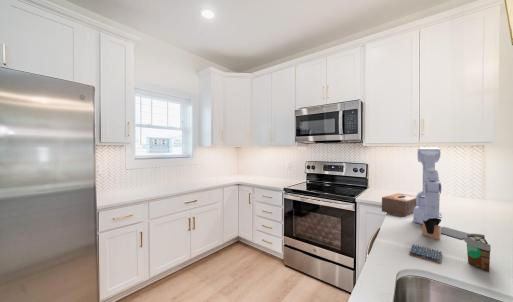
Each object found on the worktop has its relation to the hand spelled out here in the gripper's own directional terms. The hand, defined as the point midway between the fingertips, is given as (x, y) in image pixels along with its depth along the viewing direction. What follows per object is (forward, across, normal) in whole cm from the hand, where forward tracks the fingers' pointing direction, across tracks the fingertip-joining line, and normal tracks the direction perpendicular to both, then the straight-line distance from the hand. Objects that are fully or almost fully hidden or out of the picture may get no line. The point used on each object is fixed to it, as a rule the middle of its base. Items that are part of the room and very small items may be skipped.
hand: (431, 233), depth 107 cm
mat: (+2, +14, -2) cm, 15 cm away
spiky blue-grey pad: (+2, -24, -9) cm, 26 cm away
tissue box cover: (+2, +33, +33) cm, 47 cm away
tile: (+2, 0, 0) cm, 2 cm away
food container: (+2, -15, -21) cm, 26 cm away
